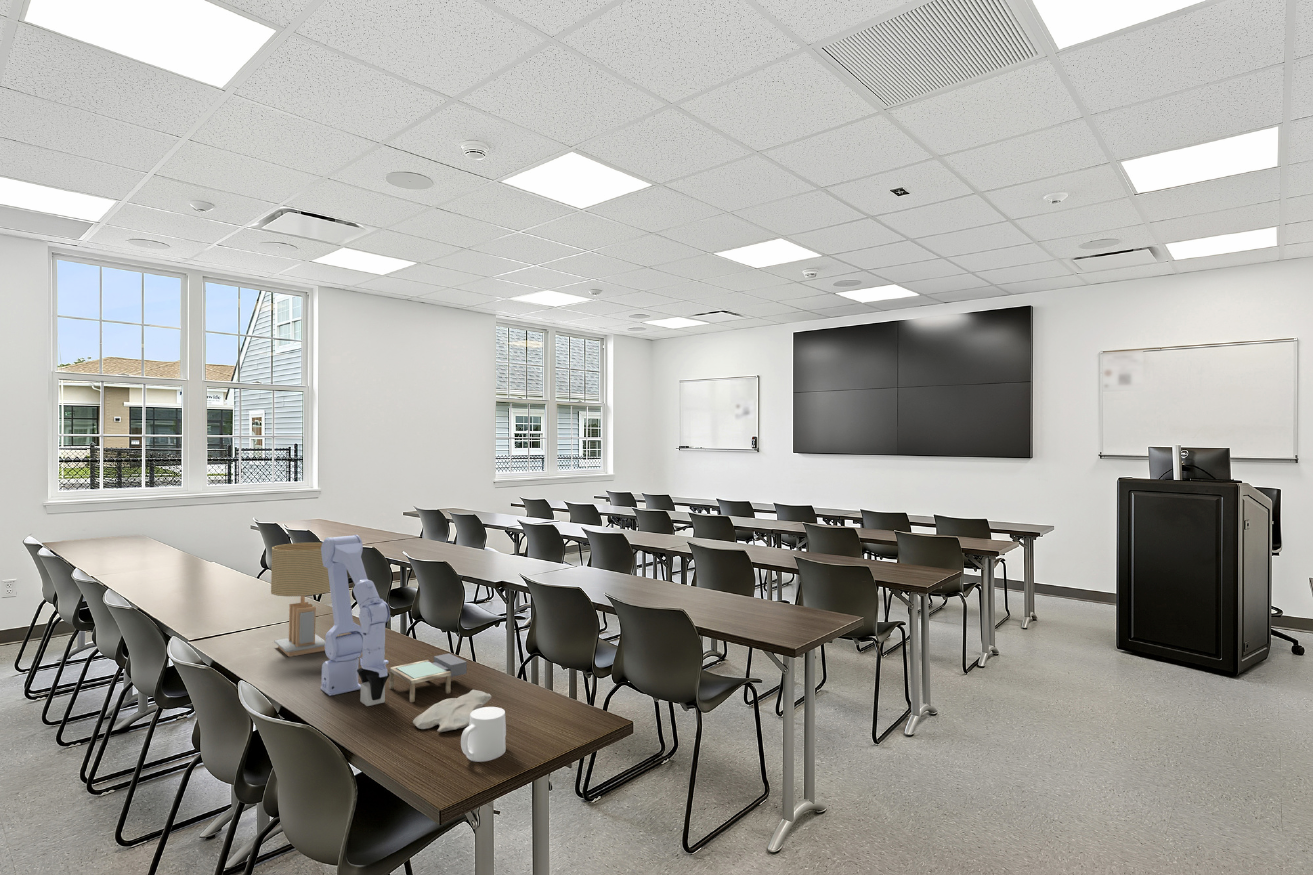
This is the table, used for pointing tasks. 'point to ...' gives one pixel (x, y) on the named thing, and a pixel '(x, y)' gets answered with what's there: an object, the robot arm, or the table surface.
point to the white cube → (367, 697)
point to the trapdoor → (436, 667)
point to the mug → (485, 734)
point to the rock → (452, 712)
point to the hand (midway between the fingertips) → (372, 696)
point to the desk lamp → (299, 593)
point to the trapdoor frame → (417, 679)
